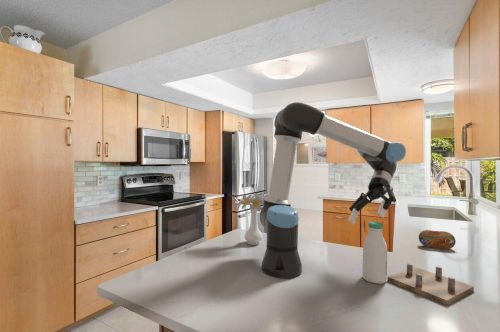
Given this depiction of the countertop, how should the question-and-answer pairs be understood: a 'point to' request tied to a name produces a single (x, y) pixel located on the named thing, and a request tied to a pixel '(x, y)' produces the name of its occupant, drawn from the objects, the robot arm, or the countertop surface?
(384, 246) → the milk bottle
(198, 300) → the countertop surface
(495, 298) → the countertop surface
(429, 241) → the tin
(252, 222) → the flower vase
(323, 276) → the countertop surface
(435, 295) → the peg board
